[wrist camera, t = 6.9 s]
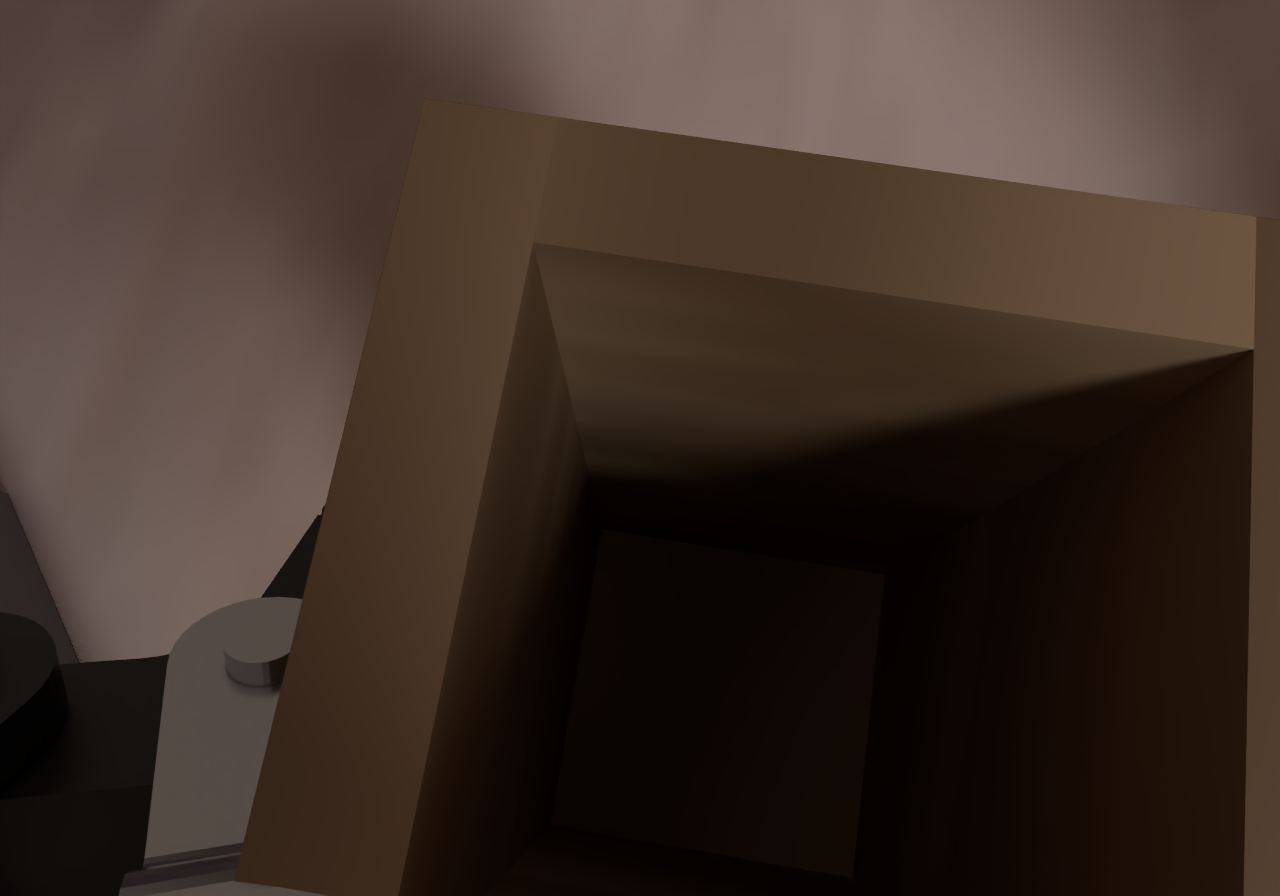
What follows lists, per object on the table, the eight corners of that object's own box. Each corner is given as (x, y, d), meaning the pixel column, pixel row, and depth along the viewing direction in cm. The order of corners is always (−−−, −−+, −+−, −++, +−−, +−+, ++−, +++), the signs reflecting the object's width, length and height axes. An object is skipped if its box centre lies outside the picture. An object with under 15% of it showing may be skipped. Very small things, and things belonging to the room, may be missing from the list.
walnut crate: (932, 537, 16) (1402, 237, 6) (892, 942, 14) (1421, 1421, 4) (561, 477, 16) (423, 98, 6) (487, 870, 14) (161, 1178, 5)
